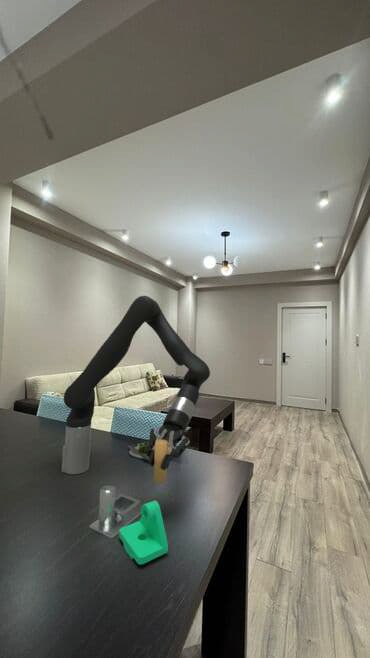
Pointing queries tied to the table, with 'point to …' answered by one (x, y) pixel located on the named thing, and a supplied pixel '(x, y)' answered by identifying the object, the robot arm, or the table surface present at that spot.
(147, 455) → the salad plate
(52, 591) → the table surface
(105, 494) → the clear post on plate
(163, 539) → the camera mount
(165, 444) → the tan rounded cylinder
